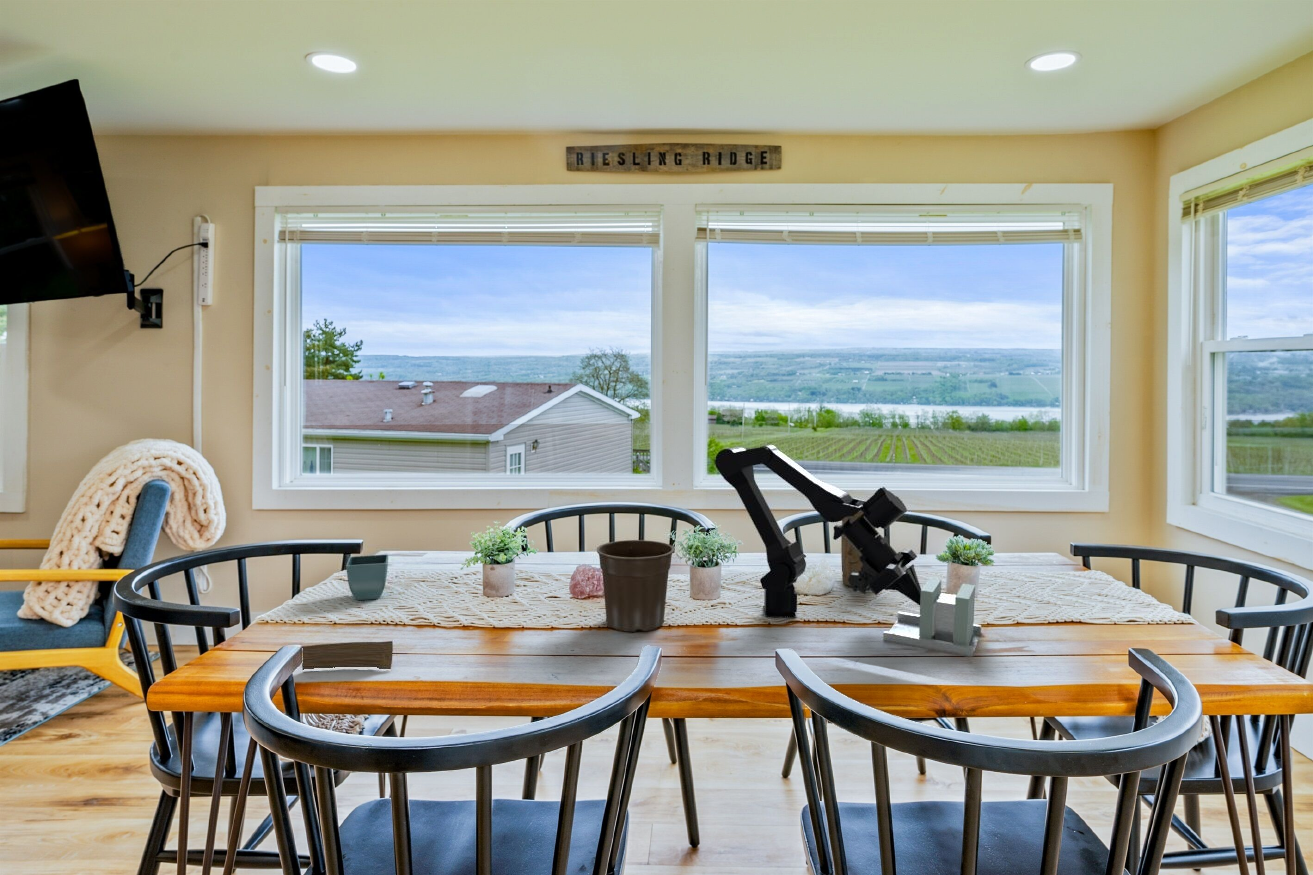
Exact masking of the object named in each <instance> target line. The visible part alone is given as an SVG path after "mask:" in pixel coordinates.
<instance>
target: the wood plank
mask: <svg viewBox="0 0 1313 875" xmlns="http://www.w3.org/2000/svg"><path fill="white" fill-rule="evenodd" d="M301 647H302V648H303V660H302V662H303V663H301V668H302V669H301V670H304V669H314V668H333V667H334V668H335V667H377V668H379V669H391V670H392V664H393V651H394V645H393V640H390V641H389V640H388V641H356V642H355V641H353V642H352V641H351V642H338V643H337V642H336V643H321V644H314V645H301ZM301 647H300V648H301Z"/></svg>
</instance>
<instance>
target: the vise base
mask: <svg viewBox="0 0 1313 875" xmlns="http://www.w3.org/2000/svg"><path fill="white" fill-rule="evenodd" d="M919 624H920V614H915V613H909V612H903V611H898V612H897V620H896V621H895V623H894V624H893V625H892V627H891V628H890V630H884V631H883V634H882V642H887V643H893V644H897V645H898V644H899V645H904V646H909V647H913V648H920V649H925V650H931V651H934V652H935V651H936V652H940V653H946V654H952V655H956V656H961V657H965V658H966V657H968V658H973V656H974V653H975V650H976V648H977V645H978V642H979V640H980V637H981V634H982V625H981V624H976V623H974V626H973V636H972V639H971V641H970V644H969V646H967V645H961V644H956V643H950V642H945V641H939V640H934V639H928V638H923V637H919Z"/></svg>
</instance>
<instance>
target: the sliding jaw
mask: <svg viewBox="0 0 1313 875" xmlns="http://www.w3.org/2000/svg"><path fill="white" fill-rule="evenodd" d="M941 593H942V578H936V577H929V578H928V580H927V582H925V584H924V585H923V587H921V597H920V605H919V615H920V624H919V637H923V638H928V639H934V636H935V611H936V600H937V599H938V597H939V595H940V594H941Z"/></svg>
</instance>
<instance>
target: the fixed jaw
mask: <svg viewBox="0 0 1313 875" xmlns="http://www.w3.org/2000/svg"><path fill="white" fill-rule="evenodd" d="M955 595H956V597H955V609H954V623H953V641H954V642H953V643H956V644H961V645H967V646H969V644H970V641H971V639H972V636H973V626H974V624H975V623H974V622H975V619H974V618H975V601H976V600H975V598H976V597H975V596H976V585H975V584H968V583H962V585H961V586H960V587H959V590H958V591H957V593H956V594H955Z"/></svg>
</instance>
